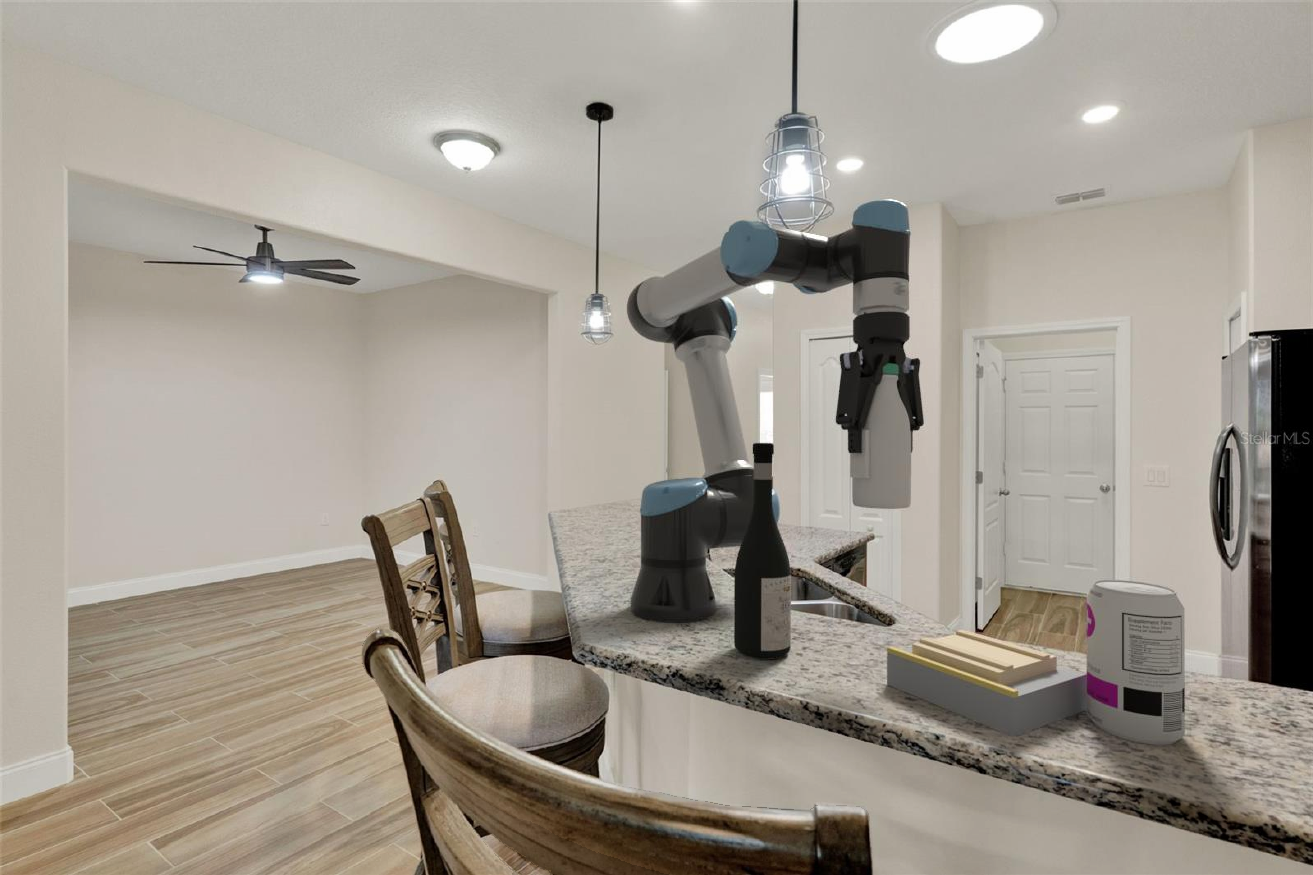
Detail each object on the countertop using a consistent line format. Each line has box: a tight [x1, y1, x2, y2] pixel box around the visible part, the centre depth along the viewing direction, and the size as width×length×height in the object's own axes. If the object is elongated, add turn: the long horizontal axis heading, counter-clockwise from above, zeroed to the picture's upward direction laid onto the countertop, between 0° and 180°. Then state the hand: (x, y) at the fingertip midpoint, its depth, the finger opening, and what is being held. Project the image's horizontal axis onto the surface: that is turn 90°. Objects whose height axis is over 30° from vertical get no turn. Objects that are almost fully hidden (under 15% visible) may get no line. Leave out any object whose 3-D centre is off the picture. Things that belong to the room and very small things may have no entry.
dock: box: [886, 629, 1087, 738], centre depth 75 cm, size 16×14×6 cm
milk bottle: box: [851, 363, 912, 510], centre depth 88 cm, size 8×8×20 cm
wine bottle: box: [733, 442, 792, 660], centre depth 90 cm, size 8×8×30 cm
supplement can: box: [1086, 579, 1186, 746], centre depth 66 cm, size 8×8×15 cm
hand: (881, 476), depth 88 cm, fingers closed on milk bottle, 8 cm apart
